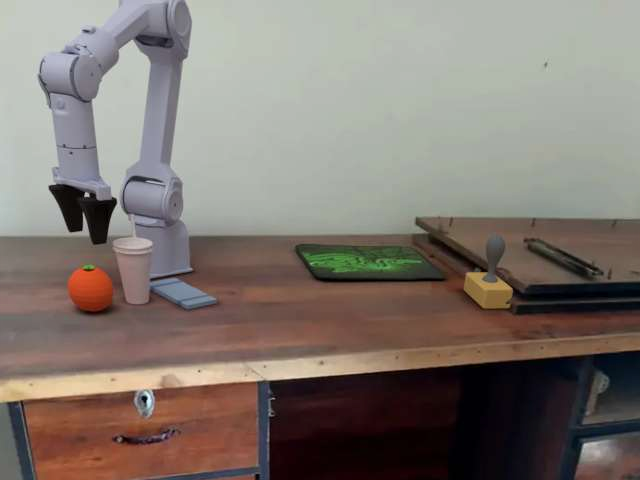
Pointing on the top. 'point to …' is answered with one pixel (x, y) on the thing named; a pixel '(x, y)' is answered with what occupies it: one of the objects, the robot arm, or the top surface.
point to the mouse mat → (367, 262)
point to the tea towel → (182, 293)
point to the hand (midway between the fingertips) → (87, 237)
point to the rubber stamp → (489, 279)
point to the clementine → (90, 288)
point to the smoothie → (134, 265)
